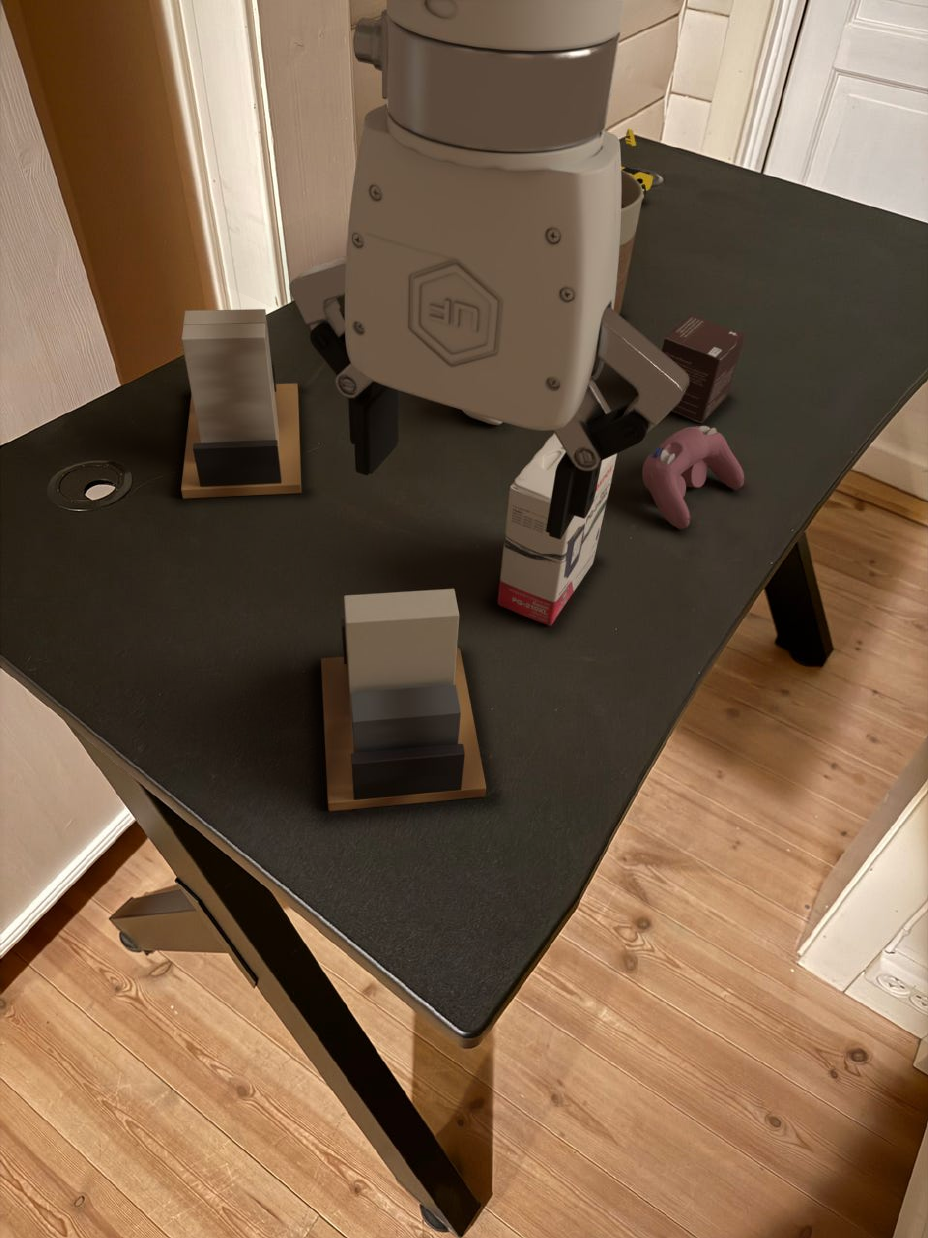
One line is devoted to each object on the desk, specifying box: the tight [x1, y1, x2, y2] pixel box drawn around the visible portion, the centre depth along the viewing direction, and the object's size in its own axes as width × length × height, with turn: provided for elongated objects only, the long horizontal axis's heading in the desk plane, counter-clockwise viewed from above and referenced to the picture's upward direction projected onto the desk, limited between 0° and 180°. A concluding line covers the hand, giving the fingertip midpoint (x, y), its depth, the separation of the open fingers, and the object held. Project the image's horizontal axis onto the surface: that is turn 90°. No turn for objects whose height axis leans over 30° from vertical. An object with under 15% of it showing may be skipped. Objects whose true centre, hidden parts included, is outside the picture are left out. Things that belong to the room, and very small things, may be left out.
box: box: [661, 314, 746, 424], centre depth 89 cm, size 6×6×7 cm
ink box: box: [497, 432, 618, 627], centre depth 68 cm, size 8×5×12 cm, turn 152°
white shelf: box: [180, 308, 303, 499], centre depth 78 cm, size 10×16×13 cm, turn 8°
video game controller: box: [641, 425, 745, 530], centre depth 79 cm, size 10×5×7 cm, turn 134°
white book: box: [343, 588, 460, 739], centre depth 56 cm, size 6×2×12 cm, turn 98°
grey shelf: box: [320, 607, 487, 812], centre depth 59 cm, size 10×12×8 cm
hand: (468, 488), depth 43 cm, fingers open, 9 cm apart
